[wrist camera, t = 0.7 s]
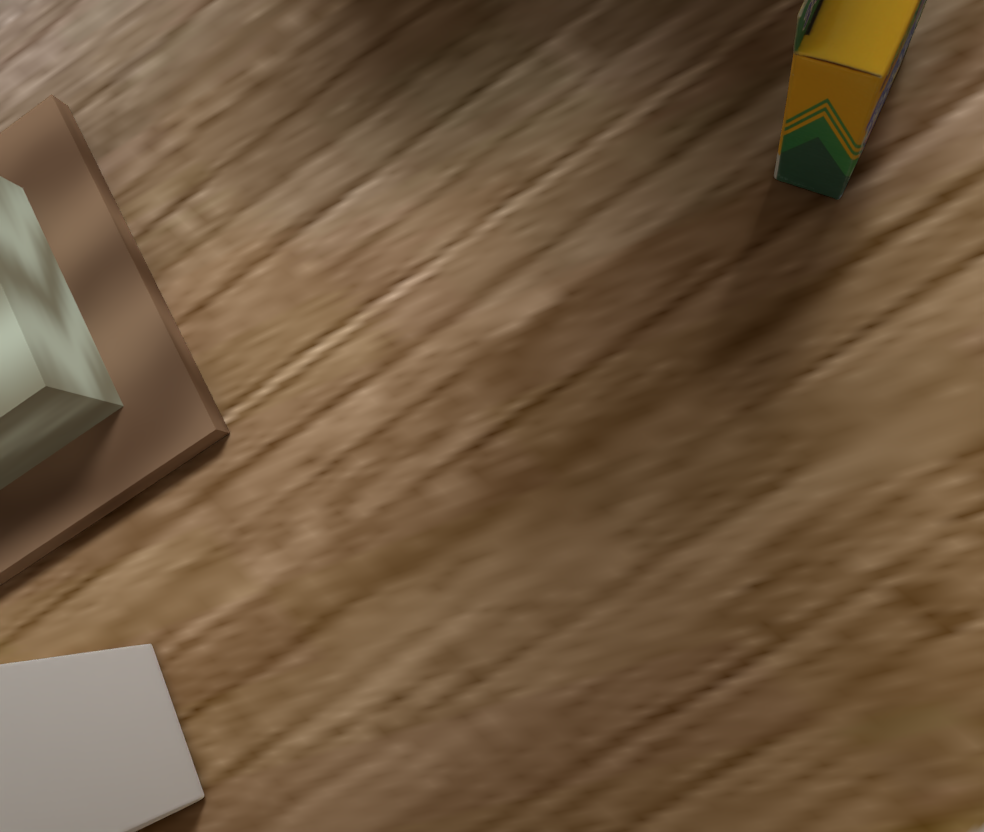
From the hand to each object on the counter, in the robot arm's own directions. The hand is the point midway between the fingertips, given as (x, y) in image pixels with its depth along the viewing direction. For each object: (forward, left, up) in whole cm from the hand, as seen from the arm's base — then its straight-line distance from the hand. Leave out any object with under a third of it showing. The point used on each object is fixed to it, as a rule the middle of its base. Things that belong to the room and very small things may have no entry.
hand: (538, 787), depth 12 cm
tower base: (-14, -32, -25) cm, 43 cm away
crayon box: (-21, +9, -25) cm, 34 cm away
